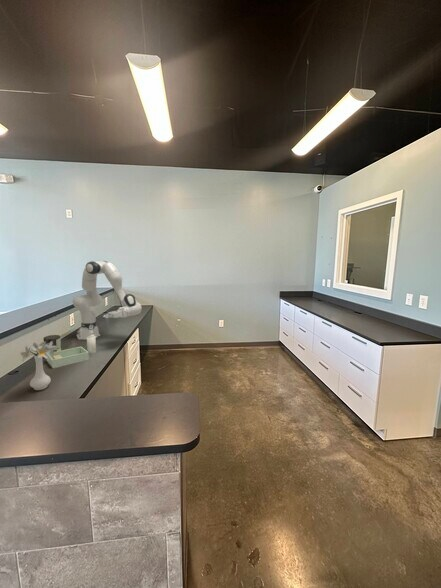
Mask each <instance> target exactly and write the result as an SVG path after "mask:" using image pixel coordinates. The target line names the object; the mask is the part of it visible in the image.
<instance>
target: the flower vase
mask: <svg viewBox="0 0 441 588" xmlns="http://www.w3.org/2000/svg"><path fill="white" fill-rule="evenodd" d="M52 344H53V342H52V341H51V342H50V343H49V345H44V341H42V342H40V343H39V344H38V343H36V342H33V343H32V345H30V347H29V345H27V344H26V345H25V346H24V347H25V349H24V350H23V351H21V352H20V355H21V356H20V357H22V360H21V362H24V360H26V359H27V358H29V357H30V356H33V357H34V360H35V361H34V362H35V375H33V377H32V378H31V379H30V382H29V385H30V387H31V388H33V389H34V391H41V390H44V389H46V388H48V386H49V384H50V383H51V381H52V380H51V377H50V375H48V374H46V372H45V371H44V364H43V363H44V362H43V358H44V359H46V360H47V358H48V356H47V353H51V354H52V355H53V354H54V352H53V349H56V348H57V346H52Z"/></svg>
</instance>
